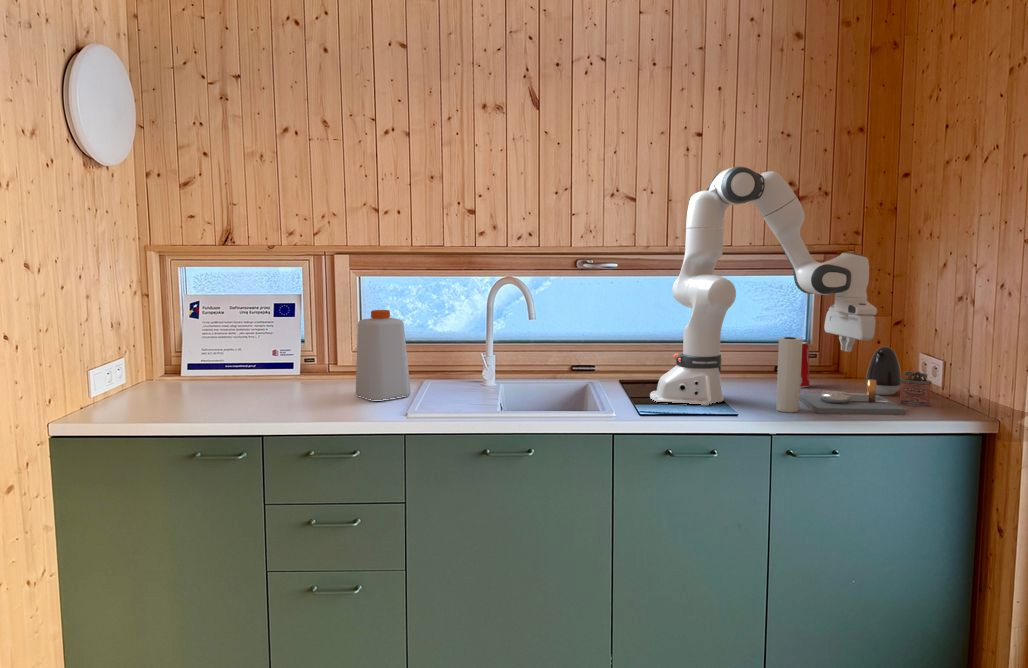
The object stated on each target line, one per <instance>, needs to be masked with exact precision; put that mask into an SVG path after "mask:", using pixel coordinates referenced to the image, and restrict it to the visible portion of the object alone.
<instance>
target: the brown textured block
mask: <svg viewBox="0 0 1028 668" xmlns="http://www.w3.org/2000/svg"><path fill="white" fill-rule="evenodd" d="M903 376H906V377H907V378H905V377H904V378H903V377H901V378H902V379H901V385H900V395H899V402H898V404H899V405H903V406H904V405H905V406H912V407H913V406H914V407H923V408H925V407H927V408H929V407H931V402H930V400H931V399H930V398H931V387H932V383H933V382H932V380H929V379H928V373H924V372H921V371H914V372H913V371H909V370H907V371H906V370H905V371H904V372H903ZM912 377H913V378H912Z"/></svg>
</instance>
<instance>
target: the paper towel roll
mask: <svg viewBox="0 0 1028 668" xmlns="http://www.w3.org/2000/svg"><path fill="white" fill-rule="evenodd" d="M803 338H804V337H803V336H802V337H793V336H783V337H779V338H778V350H777V351H778V353H777V354H778V355H777V356H778V357H777V378H776V402H775V405H776V407H775V410H776V411H779V412H783V413H797V412H798V411H799V410H800V404H801V401H800V394H801V388H800V383H801V361H802V342H803Z"/></svg>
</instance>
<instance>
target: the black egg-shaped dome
mask: <svg viewBox="0 0 1028 668" xmlns="http://www.w3.org/2000/svg"><path fill="white" fill-rule="evenodd" d="M902 378H903V377H902V371H901V366H900V362H899V359H898V356H897V353H896V352H895V350H894V349H893V348H891V347H889V346H881V347H879V348H877V349H876V350H875V352H874V353H873V355H872V356H871V359H870V361H869V363H868V367H867V371H866V375H865V382H866V383H867V380H868V379H873V380H876V395H879V396H891V395H894V394H896V393H897V392H898V391H899V390H900V388H901V379H902Z"/></svg>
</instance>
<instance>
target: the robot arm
mask: <svg viewBox="0 0 1028 668" xmlns="http://www.w3.org/2000/svg"><path fill="white" fill-rule="evenodd" d="M749 202H750V203H752V204H753V205H754V206H755V207H756V209H757V210H758V212H759V213H760V215H761V217H762V219H764V222H765V223H766V225H767V226H768V228H769V229H770V230H771V232H772V233H773V235H774V236H775V238H776V240H778V243H779V245H780V247H781V249H782V250H783V252H784V255H785V256H786V258H787V260H788V262H789V264H790V265H791V267H792V272H793V279H794V283H795V286H796V287H797V288H798V290H799V291H801V292H802V293H805V294H808V295H814V294H815V295H821V296H822V295H823V296H829V295H832V294H835V295H834V303H833V304H831V305H830V307H828V311H827V312H826V315H825V319H824V320H825V321H824V325H823V327H824V331H825V333H828V334H833V335H836V336H838V339H839V340H838V341H839V343H840V350H841V351H843V352H846V353H851V352H852V351H853V350H852V349H853V346H854V344H855V342H856V340H860V341H872V340H873V338H874V337H875V333H876V331H875V330H876V318H875V316H876V315H877V313H878V309H877V307H876V306H874V305H873V304H871V303H870V302H869V301H868V294H867V288H868V286H869V279H870V263H869V259H868V257H867V256H865V255H863V254H859V253H856V252H851V251H850V252H848V251H847V252H846V251H844V252H842V253H841V254H839V255H838V256H836V257H834V258H831V259H829V260H826V261H824V262H819V261H817V260H815V259H814V258H813V257H812V256H811V254H810V251H809V250H808V248H807V246H806V244H805V242H804V241H803V238H802V236H801V228H802V226H803V224H804V222H805V218H806V214H805V212H804V208H803V206H802V204H801V202H800V200H799V198H798V197H797V195H796V194H795V192H794V190H793V188H791V186H790V185H789V184H788V182H787V181H786V180H785V178H783V176H781V175H780V173H778V172H776V171H772V170H771V171H766V172H762V173H758V172H756V171H754V170H753V169H751V168H749V167H745V166H735V167H728V168H726V169H723V170H722V171H720V172H719V173H717V174H716V175H715V176H714V177H713V178H712V180H711V182H710V184H709V185H708V186H707V188H706V190H700V191H698V192H696V193H694V194H693V195H692V196H691V197H690V200H689V203H688V206H687V207H688V208H687V213H686V219H685V220H686V222H685V246H684V247H685V248H684V256H683V261H682V266H681V268H680V273H679V275H678V277H677V278H676V279H675V280H674V283H673V285H672V295H673V297H674V299H675V301H677V302H678V303H679V304H680V305H682V306H684V307H687V308H691V309H692V310H691V316H690V319H689V321H688V323H687V324H686V325H685V327H684V329H683V339H682V342H683V346H682V347H683V348H682V353H680V354H679V353H674V354H673V359H674V360H675V363H676V365H675V366H673V367H672V368H671V369H669V370H668V371H667V372H666V373H664V374H663V375H661V376H660V377H659V380H658V382H657V387H656V390H653V391H651V392H650V393H649V397H650V400H651V399H652V400H651V401H653V400H654V401H653V402H655V401H656V402H655V403H657V402H672V403H689V404H701V405H700V406H710V405H712V403H713V404H716V402H718V403H721V402H723V401H724V400H725V398H724V394H723V390H722V382H721V373H722V371H721V370H722V354H721V335H722V334H721V333H722V328H723V323H724V320H725V317H726V314H727V311H729V309H730V308H731V307H732V306H733V304H735V300H736V298H737V289H736V286H735V284H734V283H733V282H732V281H731V280H729V279H727V278H725V277H724V276H721V275H717V274H714V271H715V268H716V264H717V263H718V260H719V259H720V258H721V257H722V255H723V252H724V227H725V226H724V225H725V223H724V222H725V221H724V217H725V213H726V211H727V208H728V207H729V206H738V205H741V204H746V203H749ZM709 404H710V405H709Z"/></svg>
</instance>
